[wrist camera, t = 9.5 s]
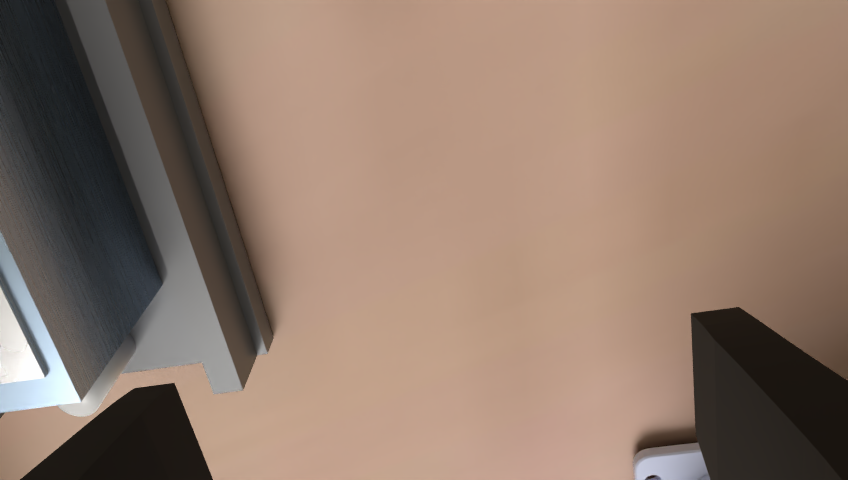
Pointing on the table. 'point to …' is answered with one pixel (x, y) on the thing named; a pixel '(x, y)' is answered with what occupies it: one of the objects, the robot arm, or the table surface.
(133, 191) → the tray
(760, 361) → the robot arm
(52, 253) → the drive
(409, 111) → the table surface
